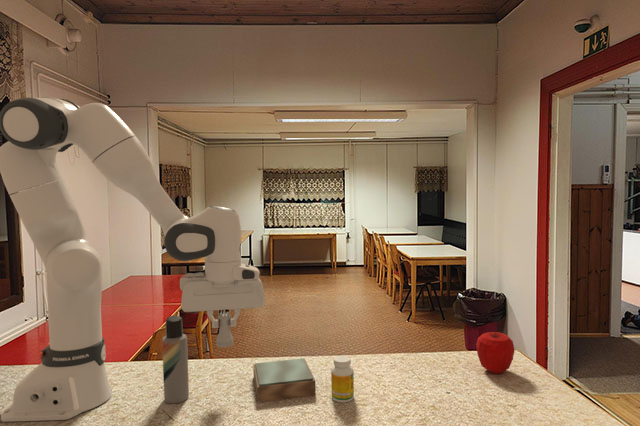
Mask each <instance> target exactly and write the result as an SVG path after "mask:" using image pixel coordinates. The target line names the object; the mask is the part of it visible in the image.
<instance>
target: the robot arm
mask: <svg viewBox="0 0 640 426" xmlns="http://www.w3.org/2000/svg"><path fill="white" fill-rule="evenodd" d="M0 132H1V134H2V136H3V137H4V138H5V139H6V140H7V141H6V142H5V143H3V144H2V145H1V146H0V175H1V179H2V181H3V184H4V186H5V188H6V189H5V190H6V191H7V192H8V195H9V197H10V199H11V202H12V203H13V206H14V208H15V210H16V212H17V214H18V215H19V218H20V219H21V221H22V224H23V226H24V229H26V232H27V233H28V235H29V237H30V240H31V241H32V244H33V245H34V247H35V249H36V251H37V254H38V256H39V257H40V259H41V261H42V263H43V265H44V268H45V273H46V293H47V294H46V295H47V316H48V317H47V319H48V321H47V323H48V338H49V339H48V340H49V341H48V343H47V344H45V346H44V348H43V349H42V350H40V353H39V354H38V355H37V356H38V360H39V361H40V360H41V363H39V364H38V365H37V366H36V367H35V368H34V369H32V370H31V371H29V373H28V374H26V375H25V376H24V377H23V378H22V379H21V380H20V381H19V382H18V384H17V385H16V387H15V389H14V392H13V396H12V400H10V401H9V402H7V403H6V405H5V406H4V408H3V409H2V411H1V414H0V420H1V422H37V421H41V422H42V421H65V420H70V419H72V418H75V417H76V416H78V415H79V414H81V413H83V412H87V411H89V410H92V409H94V408H96V407H98V406H101V405H102V404H104V403H106V402H107V401H108V400H109V399H110V398H111V397H112V395H113V390H112V388H111V385H110V383H109V379H108V375H107V371H106V370H107V369H106V365H105V364H106V363H105V361H106V344H105V338H104V337H103V326H102V324H103V323H102V291H103V289H102V288H103V268H102V267H103V262H102V258H101V256H100V253H99V252H98V251H97V250H96V249H95V248H94V247H93V245H92V243H91V241H90V239H89V236H88V234H87V231H86V229H85V226H84V224H83V222H82V219H81V217H80V214H79V212H78V209H77V207H76V204H75V202H74V200H73V198H72V196H71V194H70V191H69V189H68V187H67V185H66V183H65V180H64V178H63V175H62V174H61V171H60V169H59V168H58V164H57V160H56V158H57V157H56V156H57V153H64V152H65V151H67V150H68V149H69V148H71V147H72V146H73V145H75V146H77V147H78V148H80V149H81V151H82V152H84V154H85V155H86V156H87V158H88V159H89V160H90V162H91V163H92V164H93V165H94V167H96V169H97V170H98V171H99V172H100V173H101V174H102V175H103V177H104V178H106V179H107V180H108V181H109V182H110V183H112V184H113V185H114V186H115V187H117V188H118V189H120V190H123V191H124V192H126V193H128V194H130V195H131V196H133V197H134V198H136V200H138V201H139V202H140V203H141V204H142V205H143V207H144V208H145V209H146V210H147V211H148V213H149V214H150V215H151V217H152V218H153V219H154V220H155V222H156V223H157V224H158V225H159V227H160V229H161V230H162V234H163V238H164V241H163V242H164V243H163V244H164V248H165V251H166V252H167V254H168V255H169V256H170V257H171V258H173V259H175V260H177V261H180V262H190V261H194V260H199V259H202V258H204V271H203V272H201V271H200V272H194V273H193V272H188V273H186V274H184V275H182V276H181V277H180V279H179V289H180V291H182V293H181V300H180V303H181V305H180V307H181V308H180V309H181V310H182V311H183V312H185V313H190V312H192V313H193V312H206V314H207V318H208V319H209V320H210V321H211V328H212V329H216V328H217V329H218V328H219V319H218V318H215V316H214V311H224V310H234V316H233V317H231V318H230V320H229V322H230V328H233V327H237V320H238V318H239V317H240V315H241V309H254V308H255V309H257V308H263V307H264V305H265V304H266V296H265V290H264V286H263V285H264V284H263V282H262V281H261V279H260V275H261V274H260V270H259V268H258V267H256V266H254V265H249V264H246V263H242V255H241V251H240V249H241V244H242V230H241V229H242V228H241V221H240V216H239V214H238V213H237V211H235V210H234V209H232V208H229V207H224V206H216V205H210V206H207V207H206V208H205V209H203V210H202V211H200V212H199V213H197V214H195V215H193V216H191V217H190V216H187V215H186V214H184V213H183V212H182V210H181V209H180V208H178V206H177V205H176V203H175V202H174V201H173V200H172V198H171V197H170V195H169V194H168V193H167V191H165V189H164V188H163V186H162V185H161V182H160V181H159V178H158V177H157V174H156V173H157V172H156V170H155V166H154V165H153V162H152V160H151V158H150V156H149V154H148V152H147V150H146V149H145V147H144V146H143V144H142V142H141V141H140V139H139V138H138V137H137V136H136V134H135V133H134V132H133V130H132V129H131V128H130V127H129V126H128V125H127V124H126V122H124V120H122V118H121V117H120V116H119V115H118V114H117V113H115V112H114V111H113V110H112V109H111V108H110V107H109V106H108V105H106V104H104V103H100V102H90V103H87V104H83V105H82V106H79V105H78V104H77V103H75V102H73V101H70V100H68V99H65V98H55V97H50V96H39V97H21V98H17V99H14V100H11V101H10V102H8V103H6V104H5V105H4V106H3V107H2V108H1V110H0Z"/></svg>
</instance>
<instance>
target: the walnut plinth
mask: <svg viewBox="0 0 640 426" xmlns="http://www.w3.org/2000/svg"><path fill="white" fill-rule="evenodd" d="M252 366H253V381H254V388H255V392H256V399H257V403H263V402H270V401H279V400H285V399H286V400H287V399H295V398H301V397H311V396H316V395H317V394H316V393H317V392H316V390H317V389H316V379H315V377H314V375H313V373H312V370H311V368H310V367H309V365H308V362H307V361H306V359H305V358H294V359H284V360H273V361H265V362H264V361H263V362H255V364H253V365H252Z"/></svg>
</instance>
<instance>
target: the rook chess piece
mask: <svg viewBox="0 0 640 426" xmlns="http://www.w3.org/2000/svg"><path fill="white" fill-rule="evenodd" d="M230 318H232V316H231V314H230V312H229V311H223V312H219V314H218V316H217V319H218V325H219V329H218V331H219V332H218V335H217V337H216V339H215V340H216V341H215V342H216V343H215V345H216V346H217V347H218V348H223V349H224V348H229V347H232V346H233V344H234V343H235V341H234V337H233V335H232V333H231V327H230Z"/></svg>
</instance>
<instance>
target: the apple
mask: <svg viewBox="0 0 640 426" xmlns="http://www.w3.org/2000/svg"><path fill="white" fill-rule="evenodd" d="M475 346H476V347H475V348H476V353H477V356H478V360H479V362H480V365H481V366H482V368H484V369H485V370H487V371H488V372H489V373H491V374H495V375H500V374H504V372H506V371H507V370H508V369H510V367H511V365H512V363H513V362H512V361H513V360H514V355H515V346H514V341H513V340H512V339H511V338H510V336H508V335H507V334H505V333H502V332H498V331H489V332H484V333H482V334H481V335H480V336H478V338H477V341H476V343H475Z"/></svg>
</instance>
